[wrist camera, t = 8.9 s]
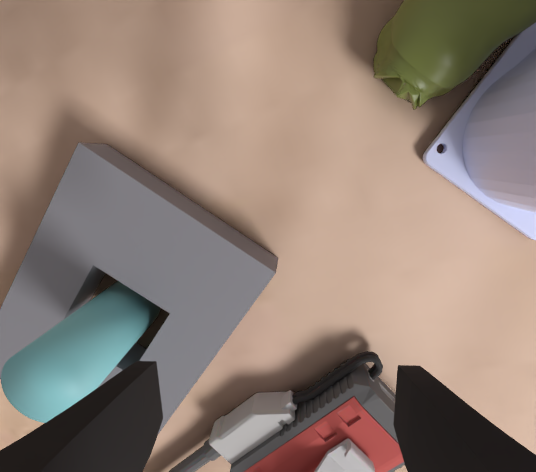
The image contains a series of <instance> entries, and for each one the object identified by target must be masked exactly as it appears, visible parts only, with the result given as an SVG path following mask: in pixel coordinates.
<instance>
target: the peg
mask: <svg viewBox="0 0 536 472" xmlns="http://www.w3.org/2000/svg"><path fill="white" fill-rule="evenodd" d="M159 312H160V307H159V306H157V305H156V304H154V303H152V302H151V301H149V300H148V299H146V298H145V297H143V296H141V295H140V294H138V293H137V292H135V291H133V290H132V289H130V288H129V287H127V286H126V285H124V284H122V283H121V282H119V281H117V282H116V283H114V284H113V285H111V286H110V287H109V288H107V289H106V290H104V291H103V292H102V293H100V294H99V295H97V296H96V297H95V298H93V299H92V300H90V301H89V302H88V303H86V304H85V305H83V306H82V307H81V308H79V309H78V310H76V311H75V312H74V313H72V314H71V315H69V316H68V317H67V318H65V319H64V320H62V321H61V322H60V323H58V324H57V325H55V326H54V327H53V328H51V329H50V330H48V331H47V332H46V333H44V334H43V335H41V336H40V337H39V338H37V339H36V340H34V341H33V342H32V343H30V344H29V345H27V346H26V347H25V348H23V349H22V350H20V351H19V352H18V353H16V354H15V355H13V356H12V357H11V358H9V359H8V361H7V362H6V363H5V365H4V367H3V369H2V373H1V384H2V388H3V391H4V393H5V395H6V397H7V399H8V400H9V402H10V403H11V404H12V405H13V406H14V407H15V408H16V409H17V410H18V411H19V412H20V413H22V414H23V415H25V416H27V417H29V418H31V419H33V420H35V421H39V422H43V423H46V422H48V421H49V420H51V419H52V418H54V417H55V416H57V415H58V414H60V413H62V412H63V411H65V410H66V409H68V408H69V407H71V406H72V405H74V404H75V403H77V402H78V401H80V400H81V399H82V398H84V397H85V396H87V395H88V394H90V393H91V392H92V391H94V390H95V389H97V388H98V386H99V385H100V384H101V383H102V382H103V381H104V379H105V378H106V377H107V376H108V375H109V373H110V372H111V371H112V370H113V369H114V368H115V366H116V365H117V364H118V363H119V362H120V360H121V359H122V358H123V357H124V356H125V355H126V353H127V352H128V351H129V350H130V349H131V347H132V346H133V345H134V344H135V343H136V342H137V340H138V339H139V338H140V337H141V336H142V334H143V333H144V332H145V331H146V330H147V329H148V327H149V326H150V325H151V324H152V323H153V321H154V320H155V319H156V318H157V316H158V314H159Z"/></svg>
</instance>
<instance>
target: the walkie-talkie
mask: <svg viewBox="0 0 536 472" xmlns="http://www.w3.org/2000/svg"><path fill="white" fill-rule="evenodd" d="M366 362H373V363H375V364H374V365H373V367H372V368H369V367H368V366H367V365H366V364H365V363H366ZM382 368H383V366H382V364H381V361H380V359H379V357H378V355H377V354H375V353H374V352H369V351H366V352H363V353H360V354H357V355H356V356H355V357H353V358H352V359H350V360H349V359H348V360H347V362H346V363H344V364H343V363H342V364H341V366H340V367H339V368H335V369H334V371H333V372H332V373H328V376H326V377H325V378H324V377H323V378H321V379H322V380H321V381H319V382H316V383H315V385H314V386H310V387H309V389H307V390H304V391H298V392H296V393H293V392H292V391H291V390H289V391H287V392H258V393H256V394H254V395H253V396H251V397H250V398H249V399H247V400H246V401H245V402H243V403H242V404H241V405H239V406H238V407H237V408H235V409H234V410H233V411H231V412H230V413H229V414H227V415H226V416H221V417H220V418H219V419H217V420H216V421H215V422H214V425H213V428H212V432H211V435H210V438H209V439H208V440H207V441H206V442H205V443H204V446H202V447H201V448H200V449H198V450H197V451H196V452H194V453H193V454H191V455H190V456H189V457H187V458H186V459H185V460H183V461H182V462H180V463H179V464H178V465H176V466H175V467H174V468H172V469H171V470H170V471H169V472H195V471H196V470H198V469H199V468H201V467H202V466H203V465H205V464H206V463H208V462H209V461H210V460H211V461H213V460H215V459H217V458H218V457H219V456H223V457H224V458H225V459H226V460H227V461H228V462H229V463H230V464H231V469H230V472H394V471H395V470H397V469H398V468H401V467H402V466H403V465H405V463H404V460H403V457H402V453H401V450H400V447H399V443H398V440H397V436H396V432H395V429H394V425H393V423H394V410H395V397H396V395H395V394H394V393H393V392H392V391H391V390H390V389H389V388H388V387H387V386H386V385H385V384H384V383H383V382H382V380H381V379H380V378H379V377H378V376H379V375H380V374H381V372H382Z"/></svg>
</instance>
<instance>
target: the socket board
mask: <svg viewBox="0 0 536 472" xmlns="http://www.w3.org/2000/svg"><path fill="white" fill-rule="evenodd" d="M277 262H278V258H277V257H276V256H274V255H273V254H271V253H270V252H268V251H267V250H265V249H264V248H262V247H261V246H259V245H258V244H256V243H255V242H253V241H252V240H250V239H249V238H247V237H246V236H244V235H243V234H241V233H240V232H238V231H237V230H235V229H234V228H232V227H231V226H229V225H228V224H226V223H225V222H223V221H222V220H220V219H219V218H217V217H216V216H214V215H213V214H211V213H210V212H208V211H207V210H205V209H204V208H202V207H201V206H199V205H198V204H196V203H195V202H193V201H192V200H190V199H189V198H187V197H186V196H184V195H183V194H181V193H180V192H178V191H177V190H175V189H174V188H172V187H171V186H169V185H168V184H166V183H165V182H163V181H162V180H160V179H159V178H157V177H155V176H154V175H152V174H151V173H149V172H148V171H146V170H145V169H143V168H142V167H140V166H139V165H137V164H136V163H134V162H133V161H131V160H130V159H128V158H127V157H125V156H124V155H122V154H121V153H119V152H118V151H116V150H115V149H113V148H112V147H110V146H109V145H107V144H97V143H78V145H77V147H76V149H75V151H74V153H73V156H72V158H71V160H70V162H69V164H68V166H67V168H66V170H65V173H64V175H63V177H62V179H61V181H60V183H59V185H58V187H57V190H56V192H55V194H54V196H53V198H52V200H51V202H50V204H49V207H48V209H47V211H46V213H45V215H44V217H43V219H42V221H41V224H40V226H39V228H38V230H37V232H36V234H35V236H34V238H33V241H32V243H31V245H30V247H29V249H28V251H27V253H26V255H25V258H24V260H23V262H22V264H21V266H20V268H19V270H18V272H17V275H16V277H15V279H14V281H13V283H12V285H11V287H10V289H9V292H8V294H7V296H6V298H5V300H4V302H3V304H2V306H1V309H0V379H1V373H2V369H3V367H4V365H5V363H6V362H7V361H8V359H9V358H11V357H12V356H13V355H15V354H16V353H18V352H19V351H20V350H22V349H23V348H25V347H26V346H27V345H29V344H30V343H32V342H33V341H34V340H36V339H37V338H39V337H40V336H41V335H43V334H44V333H46V332H47V331H48V330H50V329H51V328H53V327H54V326H55V325H57V324H58V323H60V322H61V321H62V320H64V319H65V318H67V317H68V316H69V315H71V314H72V313H74V312H75V311H76V310H78V309H79V308H81V307H82V306H83V305H85V304H86V303H88V302H89V301H90V300H91V298H92V296H93V294H94V293H95V291H96V289H97V287H98V285H99V284H100V282H101V280H102V278H103V276H104V275H105V273H107V274H108V275H110V276H111V277H113V278H114V279H116V280H118V281H119V282H121V283H122V284H124V285H126V286H127V287H129V288H130V289H132V290H133V291H135V292H137V293H138V294H140V295H141V296H143V297H145V298H146V299H148V300H149V301H151V302H152V303H154V304H156V305H157V306H159V307H160V308H162V309H163V310H165V311H167V312H168V313H170V314H169V316H168V317H167V319H166V321H165V322H164V324H163V325H162V327H161V328H160V330H159V331H158V333H157V334H156V336H155V337H154V339H153V341H152V342H151V344H150V345H149V347H148V348H147V349H146V348H144V347H142V346H141V345H139V344H138V343H135V344H134V345H133V346H132V347H131V349H130V350H129V351H128V352H127V353H126V355H125V356H124V357H123V358H122V359H121V360H120V362H119V363H118V364H117V365H116V366H115V368H114V369H113V370H112V371H111V372H110V373H109V375H108V376H107V377H106V378H105V379H104V381H103V382H102V383H101V384H100V385H99V386H98V387H100V386H101V385H102V384H104V383H105V382H107V381H108V380H110V379H111V378H112V377H114V376H115V375H117V374H118V373H120V372H121V371H122V370H124V369H125V368H127V367H128V366H130V365H132V364H133V363H135V362H136V361H156V362H157V370H158V378H159V387H160V395H161V403H162V412H163V420H162V423H161V426H160V429H159V432H160V431H161V430H162V428H163V427H164V425H165V424H166V423H167V421H168V420H169V419H170V417H171V416H172V414H173V413H174V412H175V410H176V409H177V408H178V406H179V405H180V403H181V402H182V401H183V399H184V398H185V397H186V395H187V394H188V393H189V391H190V390H191V388H192V387H193V386H194V384H195V383H196V382H197V380H198V379H199V377H200V376H201V375H202V373H203V372H204V371H205V369H206V368H207V366H208V365H209V364H210V362H211V361H212V360H213V358H214V357H215V355H216V354H217V353H218V351H219V350H220V349H221V347H222V346H223V344H224V343H225V342H226V340H227V339H228V338H229V336H230V335H231V334H232V332H233V331H234V329H235V328H236V327H237V325H238V324H239V323H240V321H241V320H242V318H243V317H244V316H245V314H246V313H247V312H248V310H249V309H250V307H251V306H252V305H253V303H254V302H255V301H256V299H257V298H258V296H259V295H260V294H261V292H262V291H263V290H264V288H265V287H266V286H267V284H268V283H269V281H270V280H271V279H272V277H273V276H274V275H275V273H276V268H277ZM159 432H158V434H159Z"/></svg>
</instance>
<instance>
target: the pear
mask: <svg viewBox="0 0 536 472" xmlns="http://www.w3.org/2000/svg"><path fill="white" fill-rule="evenodd" d="M535 22H536V0H404V1H403V3H402V4H401V6H400V7H399V9H398V11H397V13H396V14H395V16H394V17H393V18H392V19H391V20H390V21H389V22H388V23H387V24H386V25H385V26H384V28H383V29H382V31H381V32H380V35H379V37H378V41H377V53H376V55H375V57H374V60H373V61H374V72H375V74H374V77H375V78H381V80H382V78H383V82H384V83H385V82H386V85H387V87H389V86H390V87H391V88H390V87H389V88H390V89H391V90H393V92H394V93H395V95H396V96H397V97H399V98H403V99H407V100H408V102H411V103H412V106H413V109H416V107H417V106H419V107H421V105H422V104H424V103H425V102H426V101H427V100H428V99H430V98H432V97H434V96H441V95H444V94H446V93H448V92H449V91H451V90H452V89H453V88H454V87H455V86H457V85H459V84H460V83H462V82H463V81H465V80H466V79H467V78H469V77H470V76H471V75H472V74H473V73H474V72H475V71H476V70H477V69H478V68H479V67H480V66H481V64H482V63H483V62H484V61H485V60H486V59H487V58H488V57H489V55H490V54H491V53H492V52H493V51H494V50H495V49H496V48H497V47H499V46H500V45H501V44H502V43H504V42H505V41H507V40H508V39H510V38H512V37H514V36H515V35H517V34H519V33H521V32H522V31H524V30H525V29H527V28H528V27H530V26H531V25H533V24H534V23H535ZM399 92H400V93H399ZM398 93H399V94H398ZM409 100H410V101H409Z"/></svg>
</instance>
